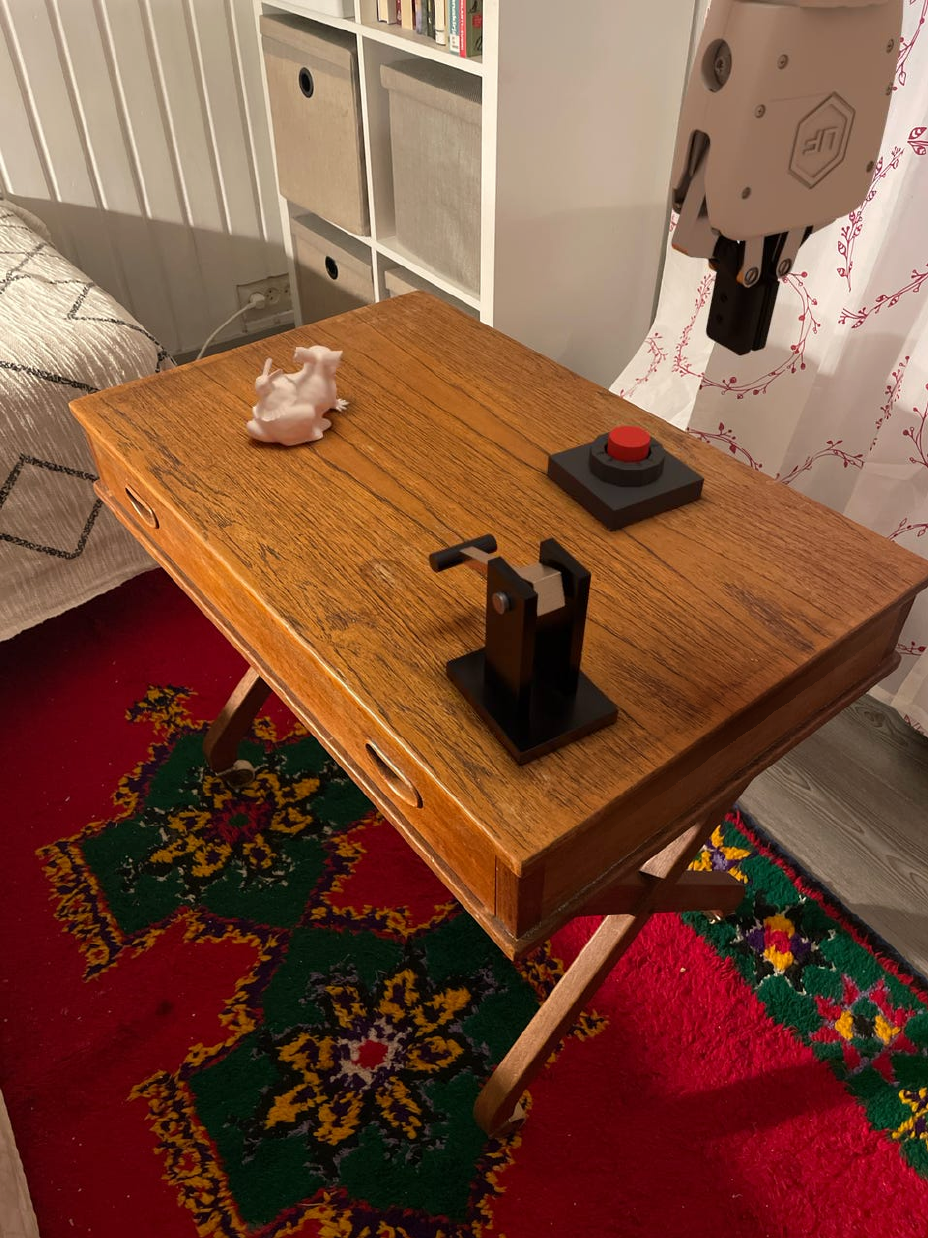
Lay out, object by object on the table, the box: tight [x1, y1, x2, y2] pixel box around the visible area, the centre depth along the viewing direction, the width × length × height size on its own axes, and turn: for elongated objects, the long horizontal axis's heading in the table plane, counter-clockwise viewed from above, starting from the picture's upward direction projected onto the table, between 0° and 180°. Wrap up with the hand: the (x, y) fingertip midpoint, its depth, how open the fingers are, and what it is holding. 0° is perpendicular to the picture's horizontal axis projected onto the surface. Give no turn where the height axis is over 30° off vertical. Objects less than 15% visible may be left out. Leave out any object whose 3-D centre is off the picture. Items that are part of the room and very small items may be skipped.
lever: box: [428, 533, 565, 617], centre depth 66 cm, size 12×5×2 cm, turn 30°
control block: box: [546, 431, 705, 532], centre depth 87 cm, size 10×10×4 cm
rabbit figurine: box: [246, 345, 350, 446], centre depth 92 cm, size 12×8×10 cm, turn 125°
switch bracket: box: [445, 537, 619, 766], centre depth 65 cm, size 10×8×12 cm
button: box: [607, 425, 651, 462], centre depth 86 cm, size 4×4×2 cm
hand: (734, 342), depth 55 cm, fingers closed
